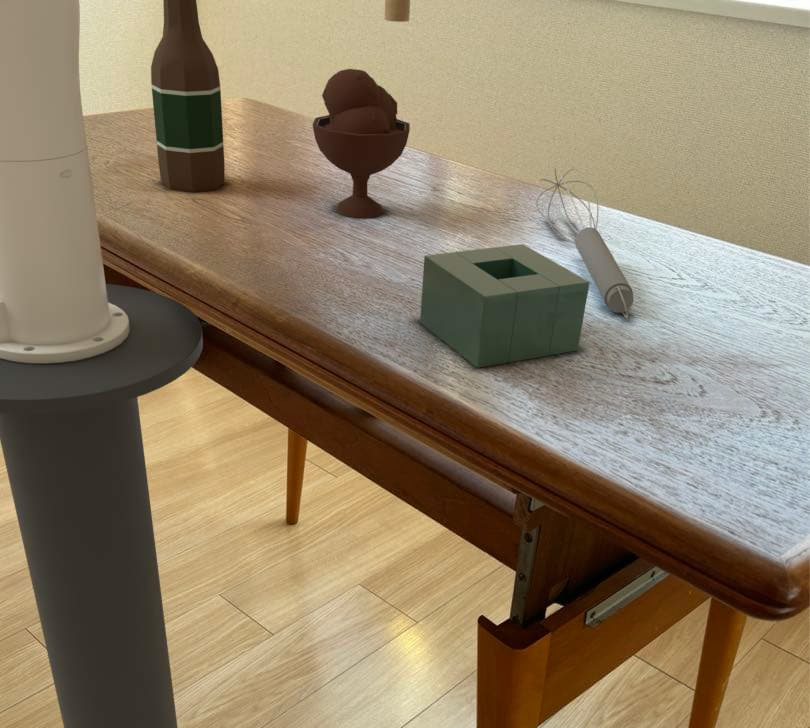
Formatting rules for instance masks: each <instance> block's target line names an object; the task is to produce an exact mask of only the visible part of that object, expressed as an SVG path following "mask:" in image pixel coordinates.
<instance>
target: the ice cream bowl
mask: <svg viewBox="0 0 810 728" xmlns="http://www.w3.org/2000/svg"><path fill="white" fill-rule="evenodd" d="M321 97H322V99H323V103H324V106H325V108H326V110H327V112H328V114H327V115H321V116H319V117H315V118H314V120H313V121H312V130H313V134H314V140H315V142H316V144H317V147H318V149H319V151H320V152H321V154H323V156H324V157H325V159H326V160H328V162H330V163H331V164H332V165H334V166H335V167H336V168H338V169H339V170H341V171H343V172H346V173H347V174H350V177H351V180H352V194H351V195H349V196H348V197H346V198H343V200H341V201H339V202H338V204H337V207H336V213H338V214H340V215H342V216H344V217H350V218H357V219H363V218H364V219H365V218H375V217H378V216H381V215H383V207H382V204H381V203H379V202H377V201H376V200H375V199H373V198H372V197H371V196H369V195H368V182H369V179H370V178H371V175H374V174H378V173H381V172H383V171H384V170H386V169H387V168H388V167H391V166H392V165H393V164H394V163H395V162H396V161H397V160H398V159H399V158H400V157H401V156H402V155H403V152H404V150H405V148H406V146H407V143H408V139H409V135H410V131H411V130H410V128H411V127H410V126H411V125H410V123H409V122H406V121H404V120H401V119H398V118H397V115H398V101H396V99H395V98H394V97H393V96H392V95H391V94H390V93H389V92H388V91H387V90H386V89H385V88H384V87H383V86H382V85H380V84H378V83H377V82H376V81H375V79H374V78H373V77H371V76H370V74H369V73H368V72H366V71H365V70H363V69H355V68H347V69H346V68H345V69H341V70H339V71H337V72H336V73H334V74H333V75H332V76H331V77H330V78H329V79H328V80H327V82H326V84H325V86H324V89H323V91H322V95H321Z"/></svg>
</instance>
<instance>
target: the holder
mask: <svg viewBox="0 0 810 728" xmlns="http://www.w3.org/2000/svg"><path fill="white" fill-rule="evenodd" d="M589 288H590V281H588V279H585V278H583V277H581V276H580V275H578V274H577V273H574V272H573V271H571V270H569V269H568V268H566V267H564V266H563V265H560V264H559V263H557V262H555V261H554V260H553V259H550V258H548V257H547V256H545V255H543V254H541V253H539V252H538V251H536V250H534V249H533V248H531V247H529V246H527V245H525V244H524V243H522V244H521V243H520V244H511V245H503V246H497V247H496V246H495V247H486V248H477V249H467V250H461V251H453V252H444V253H435V254H427V255H424V259H423V272H422V287H421V300H420V301H421V302H420V316H419V323H420V324H421V325H422V326H423V327H425V328H426V329H427V330H429V331H430V332H431V333H433V334H434V335H435V336H437V337H438V338H439V339H440V340H441V341H443V342H444V343H446V345H448V346H449V347H450V348H451V349H452V350H454V351H455V352H457V353H458V354H459V355H460V356H462V357H463V358H465V360H466V361H468V362H469V363H470V364H472V365H473V366H474V367H475V368H478V369H479V368H485V367H490V366H496V365H502V364H507V363H513V362H520V361H525V360H530V359H537V358H542V357H543V358H544V357H549V356H554V355H561V354H566V353H571V352H576V351H578V350H579V345H580V340H581V334H582V329H583V323H584V318H585V311H586V306H587V300H588V296H589V295H588V294H589Z"/></svg>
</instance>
